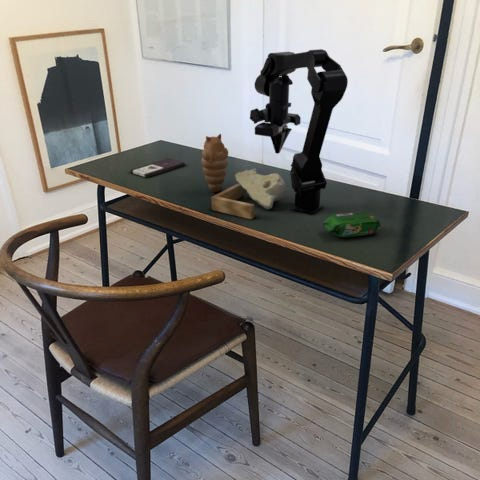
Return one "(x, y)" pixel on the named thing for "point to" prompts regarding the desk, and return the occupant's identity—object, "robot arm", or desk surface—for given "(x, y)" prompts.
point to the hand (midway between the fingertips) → (277, 153)
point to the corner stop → (232, 203)
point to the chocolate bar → (157, 167)
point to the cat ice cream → (214, 162)
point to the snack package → (352, 224)
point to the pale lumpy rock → (262, 187)
